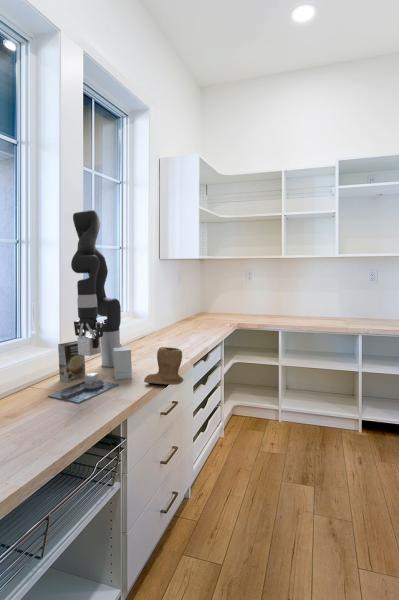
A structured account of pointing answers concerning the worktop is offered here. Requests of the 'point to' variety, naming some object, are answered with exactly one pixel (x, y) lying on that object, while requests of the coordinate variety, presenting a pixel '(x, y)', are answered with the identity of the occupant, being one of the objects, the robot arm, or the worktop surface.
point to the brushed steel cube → (87, 346)
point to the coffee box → (70, 362)
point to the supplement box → (122, 363)
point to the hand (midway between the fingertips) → (89, 347)
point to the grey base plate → (84, 389)
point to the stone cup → (167, 367)
